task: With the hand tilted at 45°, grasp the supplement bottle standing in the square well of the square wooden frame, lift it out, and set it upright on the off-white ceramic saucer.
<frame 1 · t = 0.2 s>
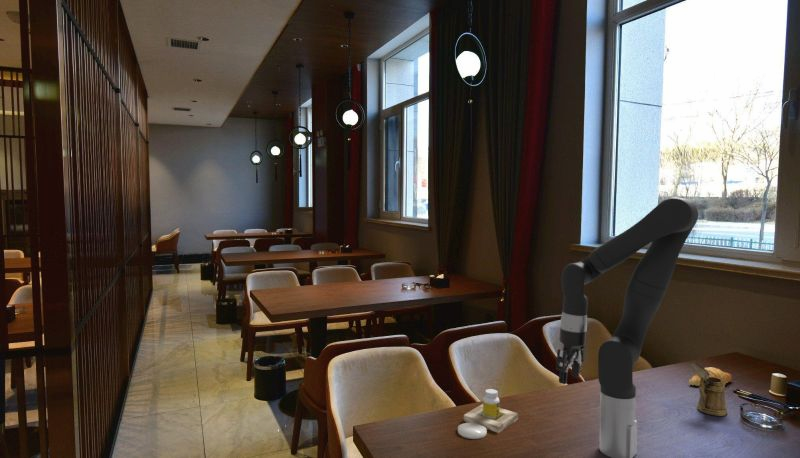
hand: (569, 380, 147), 18 cm above the table, tool pointing down, fingers open, 8 cm apart
supplement bottle: (490, 420, 160), resting in square wooden frame
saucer: (472, 432, 151), on the table
wooden mug: (707, 412, 167), on the table
croissant: (709, 384, 194), on the table
square wooden frame: (490, 420, 160), on the table
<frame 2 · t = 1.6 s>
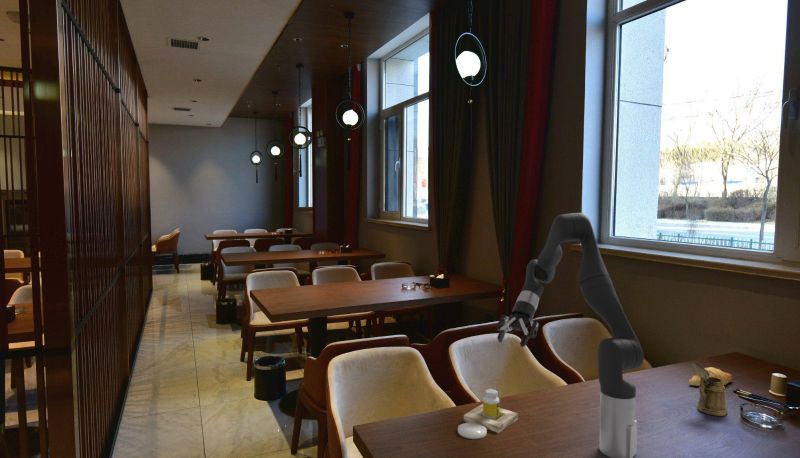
hand: (510, 343, 168), 23 cm above the table, tool tilted 45°, fingers open, 8 cm apart
nothing on the table moved.
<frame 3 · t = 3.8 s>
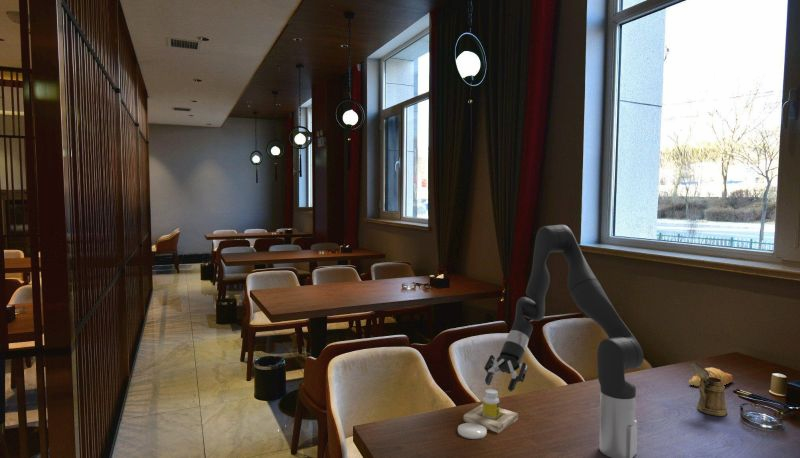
hand: (498, 387, 163), 10 cm above the table, tool tilted 45°, fingers open, 8 cm apart
nothing on the table moved.
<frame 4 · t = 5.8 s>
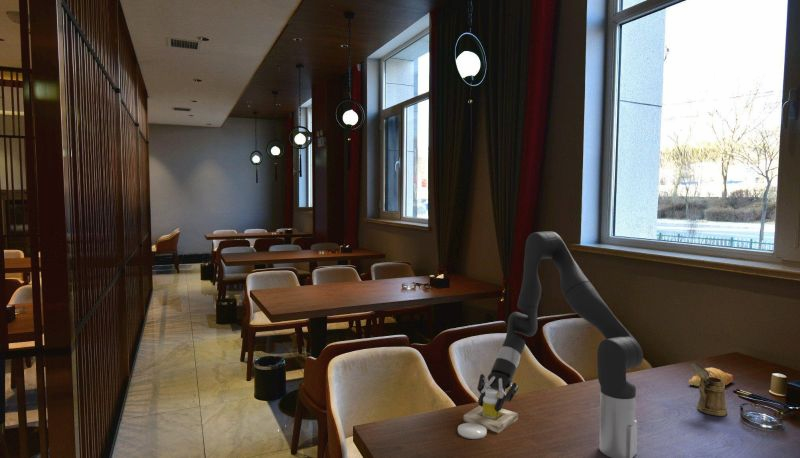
hand: (488, 407, 158), 5 cm above the table, tool tilted 45°, fingers closed on supplement bottle, 5 cm apart
supplement bottle: (490, 420, 160), resting in square wooden frame, touching gripper
everything else where it was.
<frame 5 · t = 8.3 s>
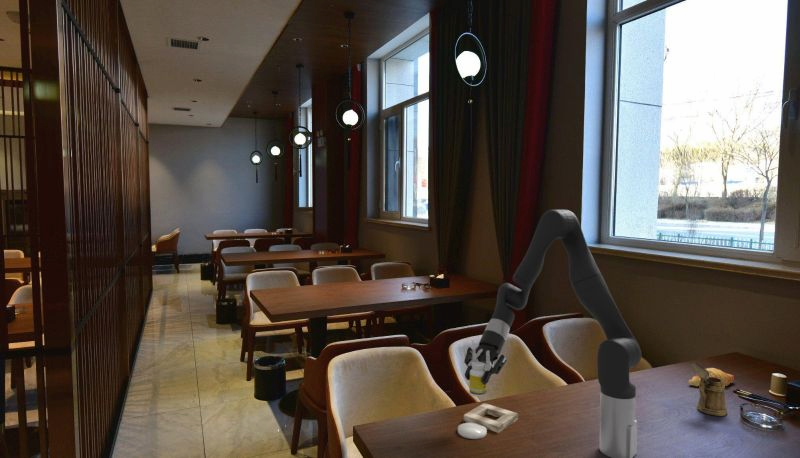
hand: (475, 380, 152), 16 cm above the table, tool tilted 45°, fingers closed on supplement bottle, 5 cm apart
supplement bottle: (478, 394, 153), point 11 cm above the table, touching gripper
everything else where it was.
when the fingers open (7 cm above the table, at t = 10.7 s): supplement bottle drops 1 cm, resting on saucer.
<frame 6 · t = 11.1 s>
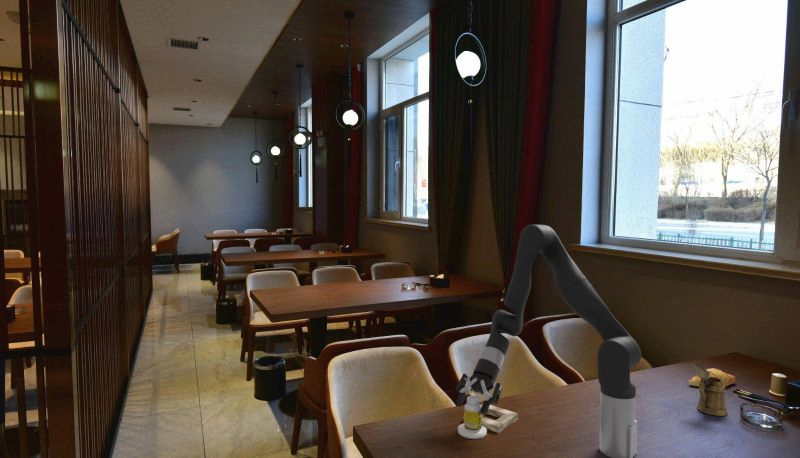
hand: (470, 409, 150), 8 cm above the table, tool tilted 45°, fingers open, 8 cm apart
supplement bottle: (472, 429, 151), point 1 cm above the table, touching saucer
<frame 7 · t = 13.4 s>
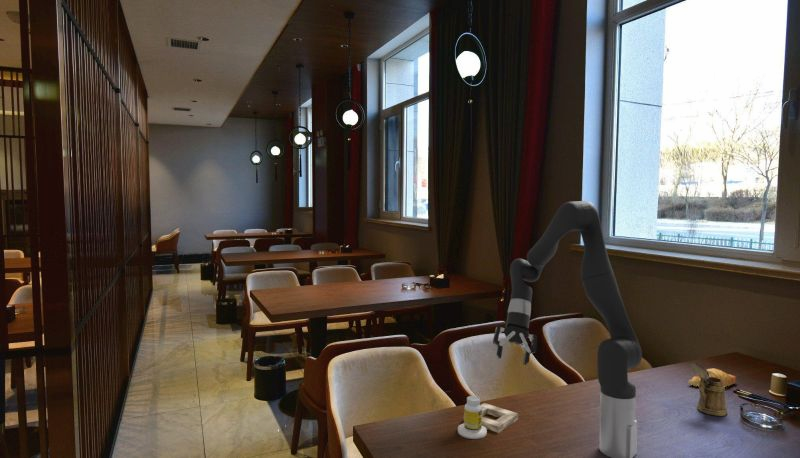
hand: (512, 361, 160), 19 cm above the table, tool tilted 30°, fingers open, 8 cm apart
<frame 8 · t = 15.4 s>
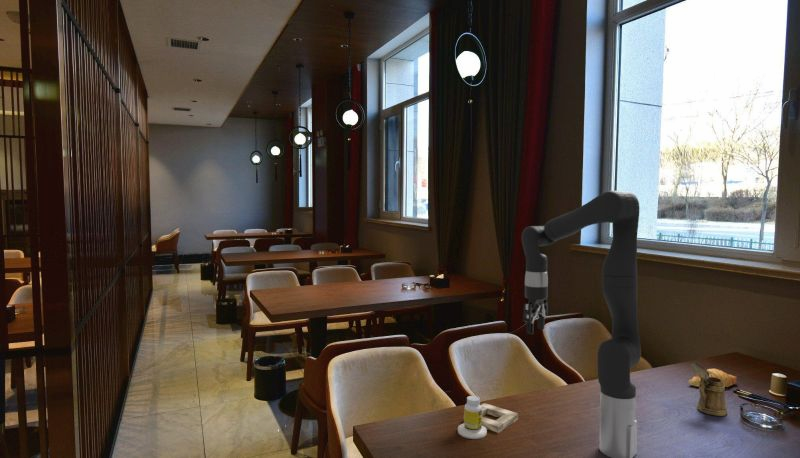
hand: (535, 331, 165), 28 cm above the table, tool pointing down, fingers open, 8 cm apart
at the end: supplement bottle inside the target area on the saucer (0.2 cm from its centre), point 0.8 cm above the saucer's base; supplement bottle tilted 0°; the gripper is holding nothing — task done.
